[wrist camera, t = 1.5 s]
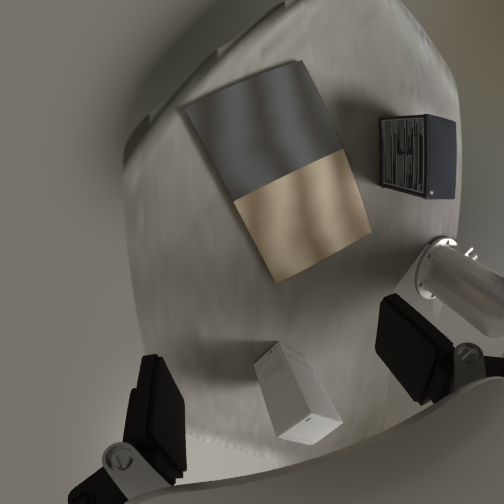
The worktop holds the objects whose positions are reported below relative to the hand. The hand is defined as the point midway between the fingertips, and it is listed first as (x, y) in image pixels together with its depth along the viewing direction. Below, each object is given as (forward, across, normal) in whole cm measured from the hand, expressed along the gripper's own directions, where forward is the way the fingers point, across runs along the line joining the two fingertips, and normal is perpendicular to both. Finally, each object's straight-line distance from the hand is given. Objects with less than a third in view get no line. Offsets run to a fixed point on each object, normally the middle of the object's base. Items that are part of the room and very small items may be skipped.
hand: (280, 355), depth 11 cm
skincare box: (+27, -5, +27) cm, 38 cm away
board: (+26, -9, -4) cm, 28 cm away
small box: (+27, -26, -5) cm, 38 cm away
